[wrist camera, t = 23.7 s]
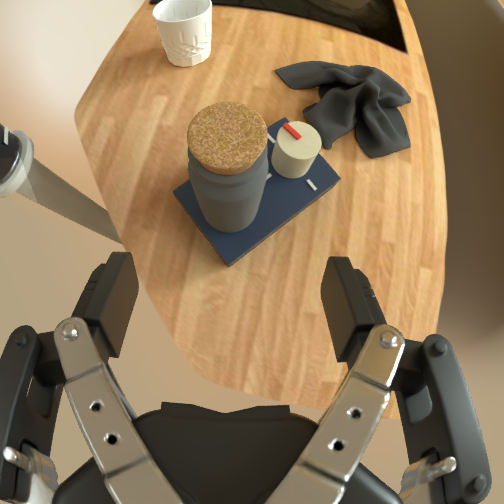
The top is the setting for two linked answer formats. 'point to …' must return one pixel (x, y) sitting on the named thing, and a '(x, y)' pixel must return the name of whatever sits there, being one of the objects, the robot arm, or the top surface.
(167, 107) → the top surface
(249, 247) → the panel
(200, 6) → the white cup
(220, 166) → the bottle
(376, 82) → the cloth
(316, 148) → the knob
